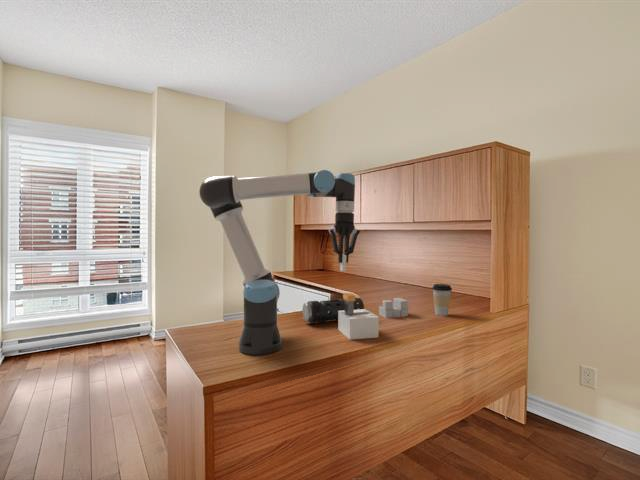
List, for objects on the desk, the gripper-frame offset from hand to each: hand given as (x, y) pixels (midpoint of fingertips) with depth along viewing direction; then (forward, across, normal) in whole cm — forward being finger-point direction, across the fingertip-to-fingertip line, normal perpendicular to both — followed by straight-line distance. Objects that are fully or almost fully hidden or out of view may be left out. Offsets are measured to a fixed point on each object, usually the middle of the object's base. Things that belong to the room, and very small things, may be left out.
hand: (343, 270), depth 132 cm
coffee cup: (+25, +60, +17) cm, 67 cm away
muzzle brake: (+26, +3, +20) cm, 33 cm away
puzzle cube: (+25, +36, +25) cm, 51 cm away
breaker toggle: (+17, +3, 0) cm, 17 cm away
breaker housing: (+26, +7, 0) cm, 27 cm away
